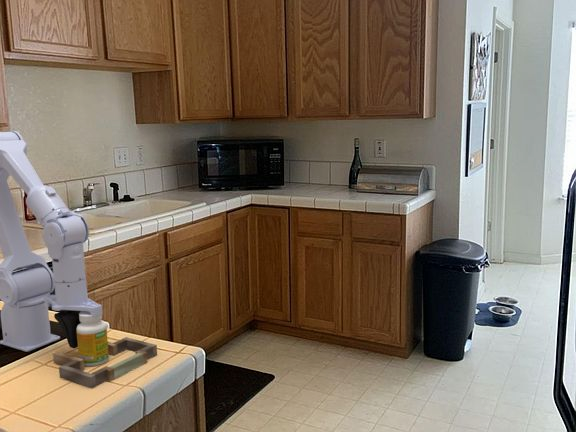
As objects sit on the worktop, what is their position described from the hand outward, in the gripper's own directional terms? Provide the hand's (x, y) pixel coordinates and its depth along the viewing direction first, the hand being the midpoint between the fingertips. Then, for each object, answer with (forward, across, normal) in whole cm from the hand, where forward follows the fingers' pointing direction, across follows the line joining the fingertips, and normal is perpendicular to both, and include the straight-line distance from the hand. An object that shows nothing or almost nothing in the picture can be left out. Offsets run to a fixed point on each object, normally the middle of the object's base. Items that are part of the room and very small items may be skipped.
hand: (76, 346), depth 109 cm
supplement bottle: (+2, +5, 0) cm, 5 cm away
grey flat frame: (+2, +6, 0) cm, 7 cm away
